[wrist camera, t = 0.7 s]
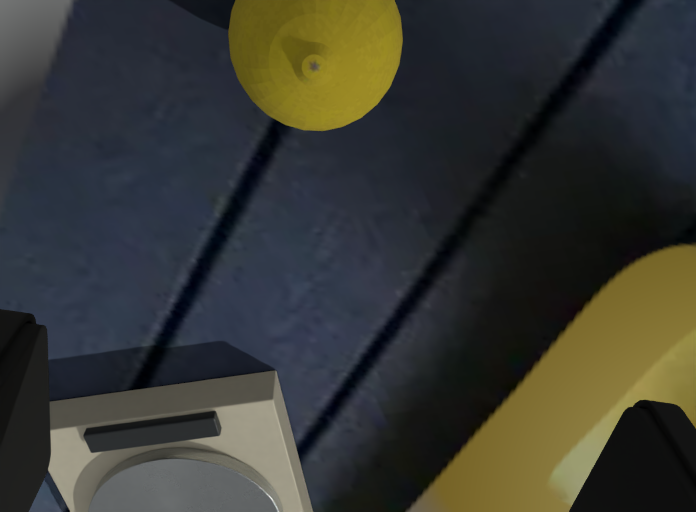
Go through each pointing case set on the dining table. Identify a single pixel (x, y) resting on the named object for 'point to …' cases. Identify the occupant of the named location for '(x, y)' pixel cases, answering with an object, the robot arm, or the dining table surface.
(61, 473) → the scale
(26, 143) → the dining table surface
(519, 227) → the dining table surface
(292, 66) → the lemon
